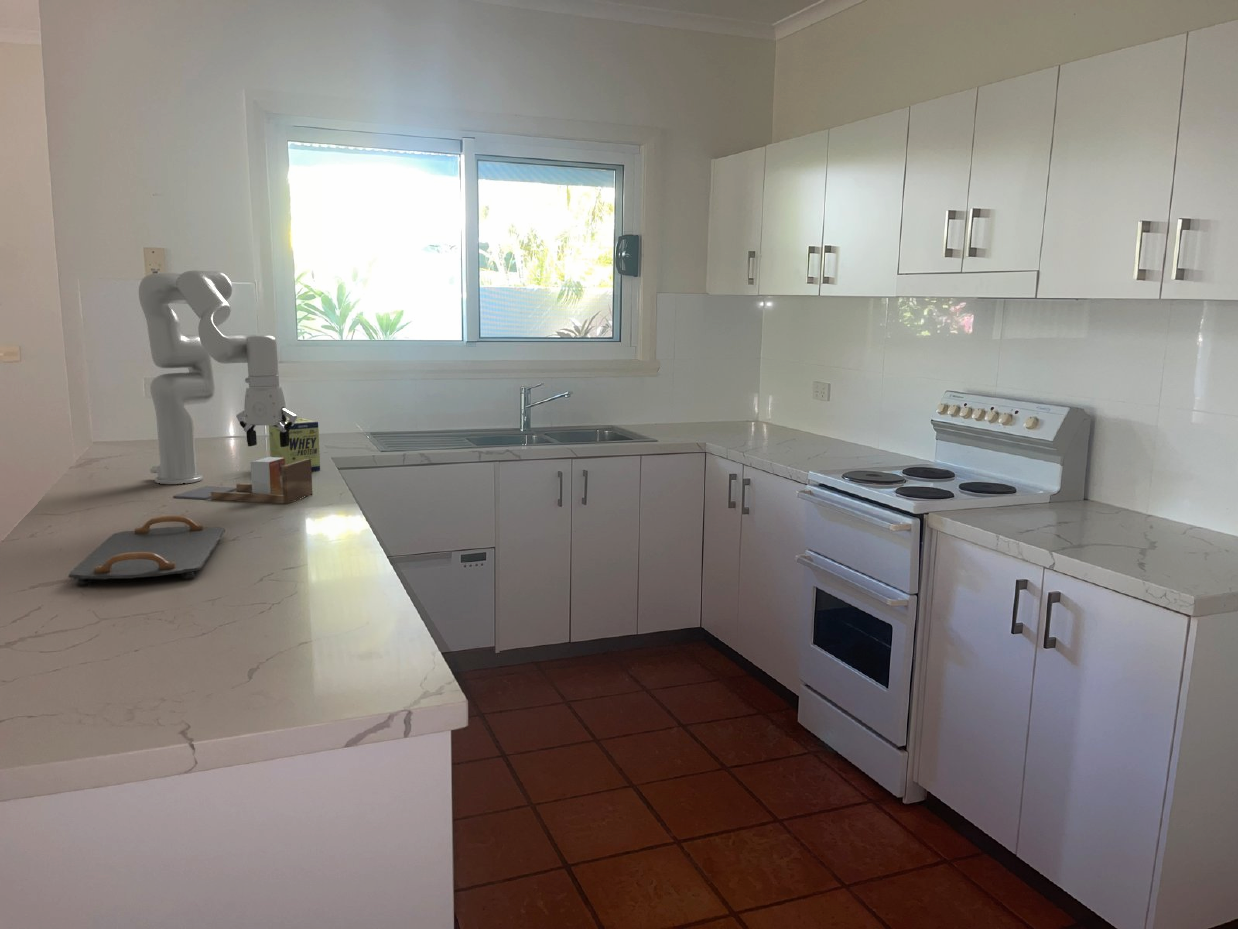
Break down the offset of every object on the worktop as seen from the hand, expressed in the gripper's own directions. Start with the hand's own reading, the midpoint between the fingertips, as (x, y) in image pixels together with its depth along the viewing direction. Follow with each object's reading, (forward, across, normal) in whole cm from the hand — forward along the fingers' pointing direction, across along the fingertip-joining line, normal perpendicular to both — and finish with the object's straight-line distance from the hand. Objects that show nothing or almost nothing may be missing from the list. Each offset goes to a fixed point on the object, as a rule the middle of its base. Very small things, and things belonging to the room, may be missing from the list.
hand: (268, 446), depth 245 cm
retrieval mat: (+14, -20, 0) cm, 24 cm away
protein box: (+14, -18, +42) cm, 47 cm away
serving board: (+16, +12, -61) cm, 64 cm away
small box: (+14, -1, 0) cm, 14 cm away
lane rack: (+14, -3, 0) cm, 14 cm away
